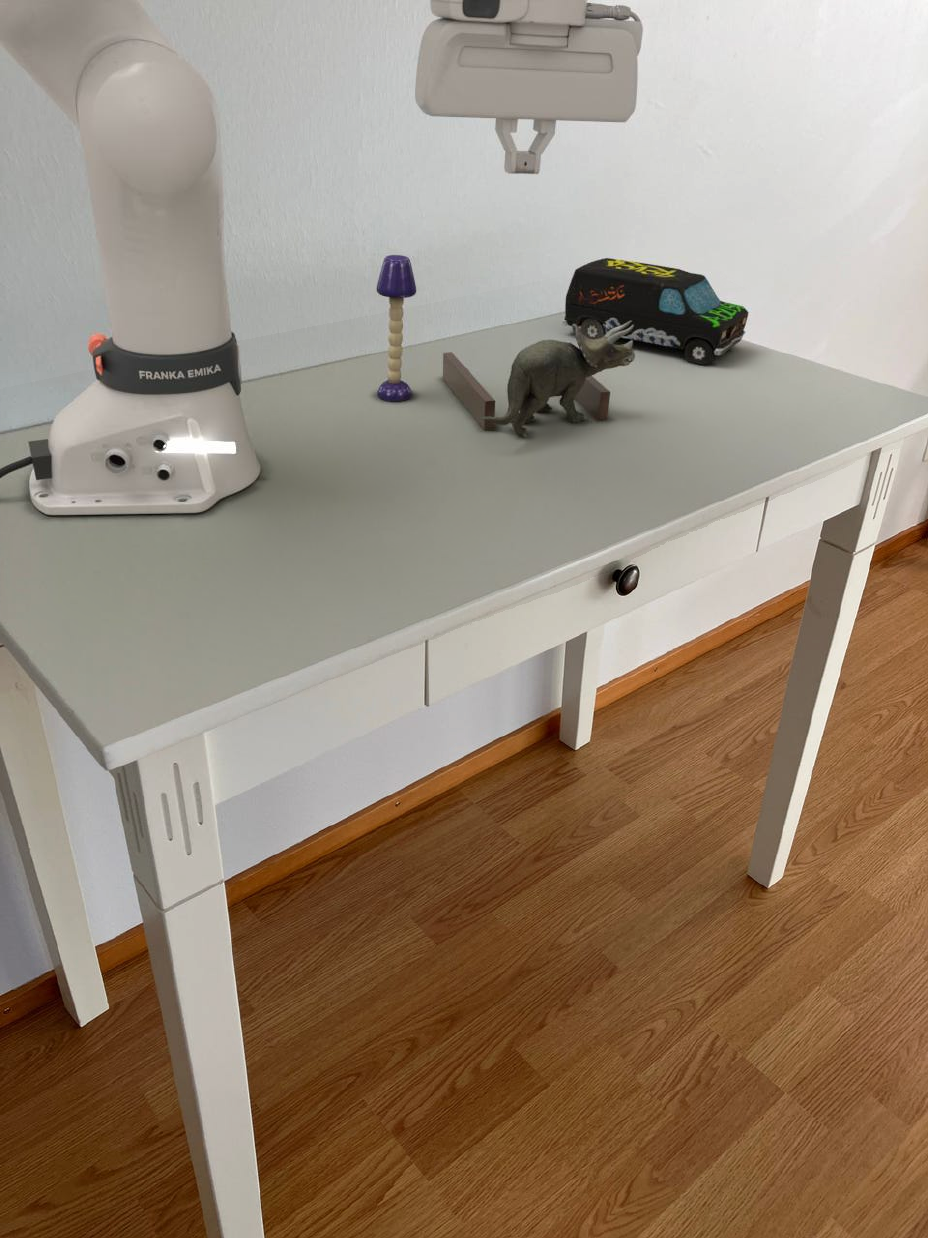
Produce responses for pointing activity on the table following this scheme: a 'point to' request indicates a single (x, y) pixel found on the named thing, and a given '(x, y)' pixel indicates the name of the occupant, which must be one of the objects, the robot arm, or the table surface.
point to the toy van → (653, 307)
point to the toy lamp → (395, 321)
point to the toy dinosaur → (559, 374)
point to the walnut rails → (483, 404)
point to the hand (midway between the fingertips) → (521, 172)
